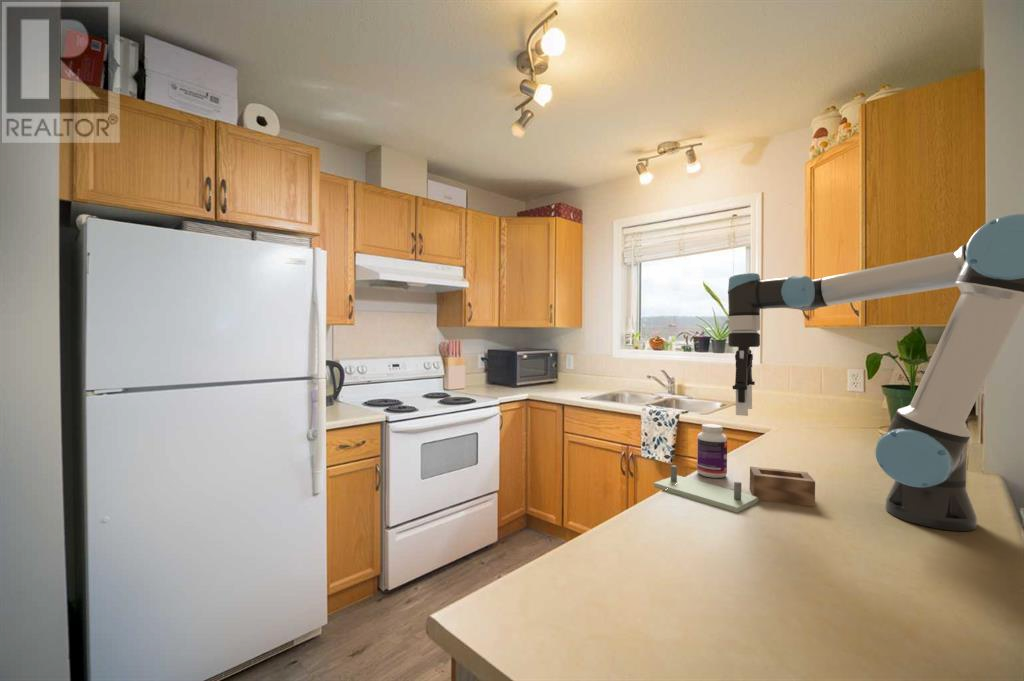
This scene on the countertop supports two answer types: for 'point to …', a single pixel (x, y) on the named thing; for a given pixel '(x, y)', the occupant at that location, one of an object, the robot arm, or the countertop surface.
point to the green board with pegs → (707, 492)
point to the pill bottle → (712, 451)
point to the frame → (782, 486)
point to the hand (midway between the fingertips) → (744, 411)
